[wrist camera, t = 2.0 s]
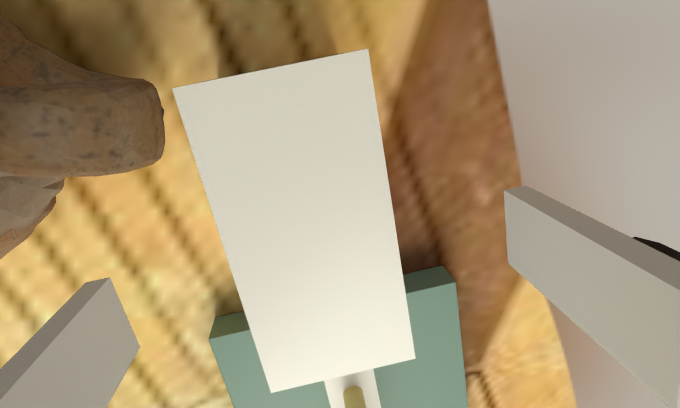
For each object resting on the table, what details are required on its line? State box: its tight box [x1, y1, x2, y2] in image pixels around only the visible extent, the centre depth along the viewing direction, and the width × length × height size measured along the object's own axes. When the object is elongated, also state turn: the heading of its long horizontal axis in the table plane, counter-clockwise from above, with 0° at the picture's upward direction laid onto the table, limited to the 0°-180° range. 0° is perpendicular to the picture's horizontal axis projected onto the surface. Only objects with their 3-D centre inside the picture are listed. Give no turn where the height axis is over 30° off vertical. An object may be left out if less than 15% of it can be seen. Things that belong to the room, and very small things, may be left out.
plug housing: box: [172, 49, 416, 393], centre depth 18 cm, size 12×6×8 cm, turn 11°
